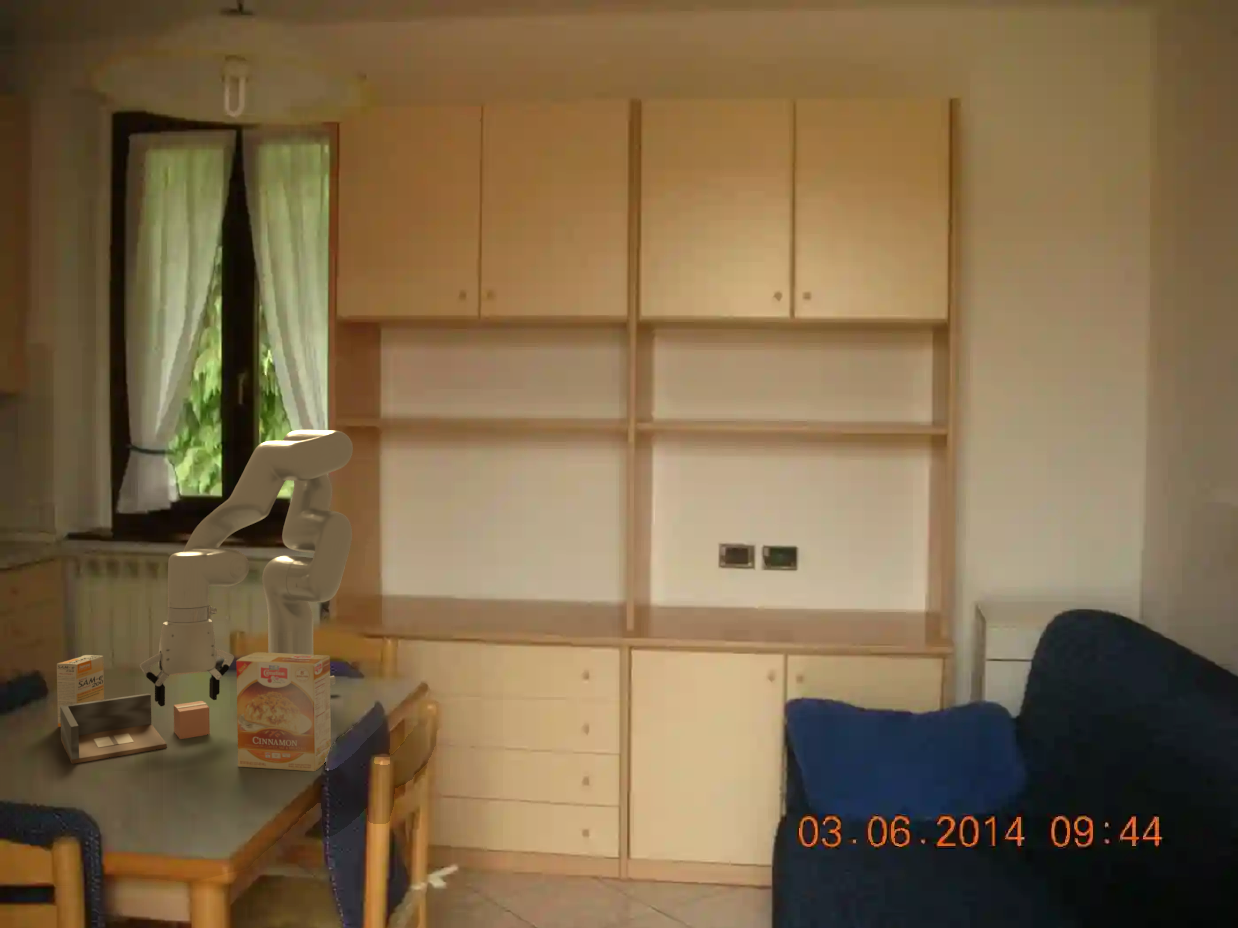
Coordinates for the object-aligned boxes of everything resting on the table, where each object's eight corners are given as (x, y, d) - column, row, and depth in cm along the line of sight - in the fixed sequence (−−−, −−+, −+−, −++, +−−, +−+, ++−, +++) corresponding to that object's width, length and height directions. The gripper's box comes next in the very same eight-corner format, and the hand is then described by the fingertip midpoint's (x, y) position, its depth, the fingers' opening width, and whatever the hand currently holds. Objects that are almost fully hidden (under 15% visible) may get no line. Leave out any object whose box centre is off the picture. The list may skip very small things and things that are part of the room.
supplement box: (78, 728, 208) (76, 664, 208) (57, 727, 209) (55, 663, 209) (106, 717, 216) (104, 654, 216) (85, 715, 217) (84, 653, 217)
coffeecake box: (236, 767, 186) (234, 659, 185) (256, 754, 193) (255, 650, 192) (314, 772, 184) (313, 663, 183) (332, 759, 191) (331, 653, 190)
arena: (150, 726, 210) (149, 693, 210) (166, 747, 197) (165, 712, 196) (61, 740, 201) (60, 705, 201) (71, 763, 188) (70, 726, 187)
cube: (203, 727, 210) (202, 699, 210) (209, 734, 205) (209, 706, 205) (174, 732, 207) (173, 704, 206) (180, 739, 202) (179, 710, 202)
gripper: (229, 609, 212) (228, 692, 213) (137, 615, 203) (136, 703, 203) (238, 614, 206) (237, 700, 207) (144, 621, 196) (143, 711, 197)
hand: (187, 701), depth 205 cm, fingers open, 9 cm apart
